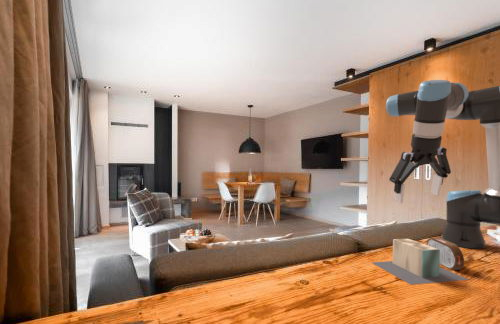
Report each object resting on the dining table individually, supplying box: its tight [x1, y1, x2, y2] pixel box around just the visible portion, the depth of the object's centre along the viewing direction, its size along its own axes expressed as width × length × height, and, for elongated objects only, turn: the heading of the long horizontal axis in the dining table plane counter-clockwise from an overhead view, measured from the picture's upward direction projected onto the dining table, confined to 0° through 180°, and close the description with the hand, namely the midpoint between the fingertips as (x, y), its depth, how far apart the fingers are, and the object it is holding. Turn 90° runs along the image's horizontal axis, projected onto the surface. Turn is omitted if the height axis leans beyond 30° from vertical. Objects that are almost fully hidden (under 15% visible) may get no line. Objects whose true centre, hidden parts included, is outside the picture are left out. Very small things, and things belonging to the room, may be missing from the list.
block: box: [392, 238, 441, 278], centre depth 87 cm, size 6×8×12 cm
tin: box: [426, 236, 465, 271], centre depth 92 cm, size 15×3×8 cm, turn 179°
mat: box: [370, 260, 470, 285], centre depth 86 cm, size 20×17×1 cm
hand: (416, 197), depth 89 cm, fingers open, 13 cm apart
